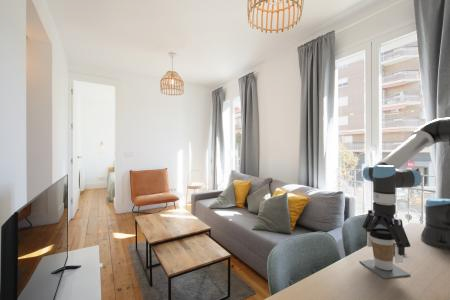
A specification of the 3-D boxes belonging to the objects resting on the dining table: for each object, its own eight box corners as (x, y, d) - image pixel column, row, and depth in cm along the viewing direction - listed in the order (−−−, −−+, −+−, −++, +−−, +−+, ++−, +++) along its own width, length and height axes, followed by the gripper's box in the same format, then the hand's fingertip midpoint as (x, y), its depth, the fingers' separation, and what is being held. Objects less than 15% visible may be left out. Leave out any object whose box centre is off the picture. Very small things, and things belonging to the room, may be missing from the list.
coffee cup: (401, 272, 85) (399, 233, 86) (377, 271, 87) (375, 232, 87) (389, 262, 93) (387, 227, 94) (367, 261, 95) (366, 226, 96)
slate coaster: (383, 260, 97) (383, 258, 97) (410, 275, 85) (410, 274, 85) (359, 262, 95) (359, 260, 95) (383, 278, 83) (383, 277, 83)
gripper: (353, 196, 101) (353, 241, 102) (405, 212, 77) (404, 271, 77) (368, 195, 102) (367, 240, 103) (423, 211, 78) (422, 269, 78)
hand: (383, 253), depth 90 cm, fingers open, 13 cm apart
